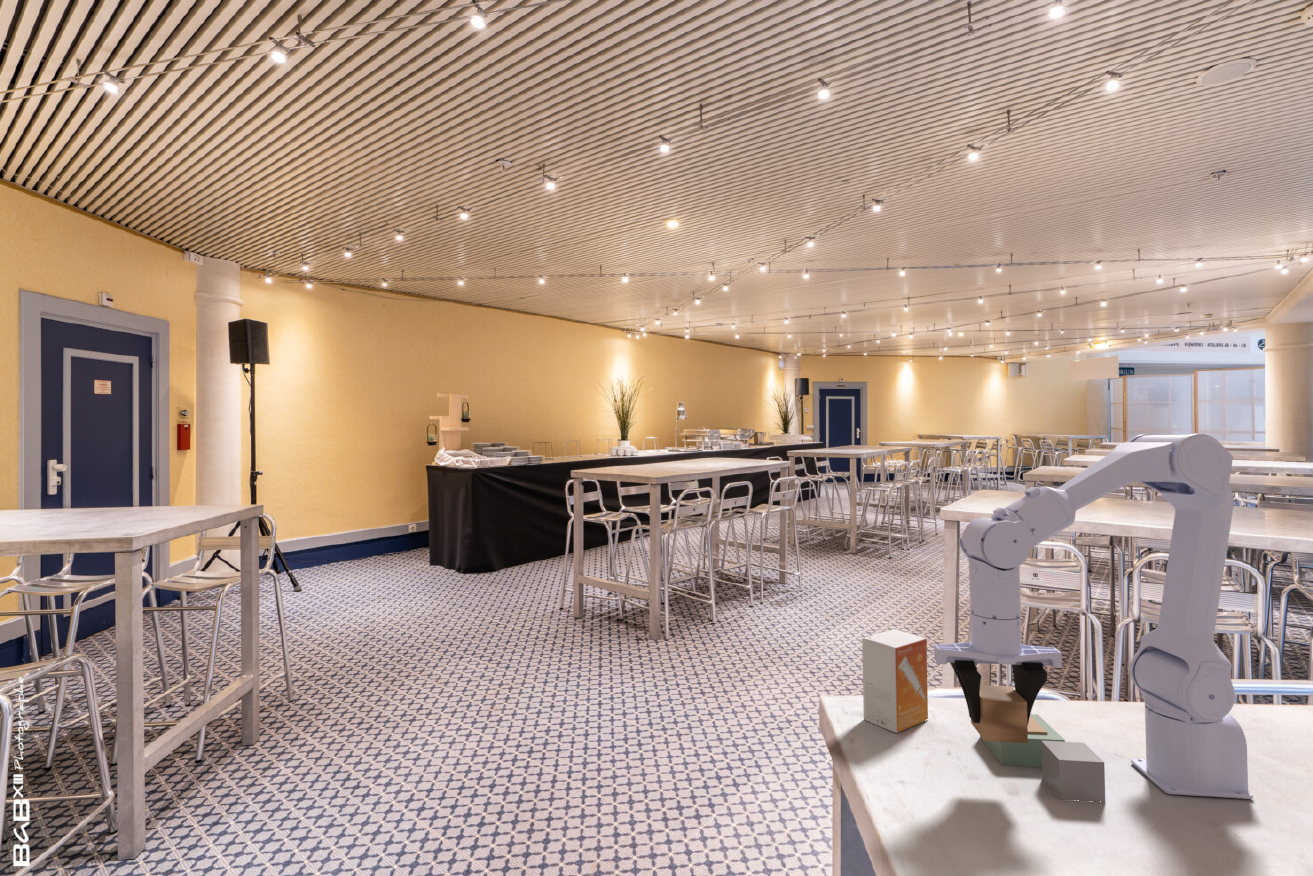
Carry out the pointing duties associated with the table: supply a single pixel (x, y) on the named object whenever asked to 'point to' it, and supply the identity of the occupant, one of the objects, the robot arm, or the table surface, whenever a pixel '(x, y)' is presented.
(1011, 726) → the walnut cube
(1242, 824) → the table surface
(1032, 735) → the green block
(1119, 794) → the table surface
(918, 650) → the small box
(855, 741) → the table surface
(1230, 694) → the robot arm
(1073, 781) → the grey cube
